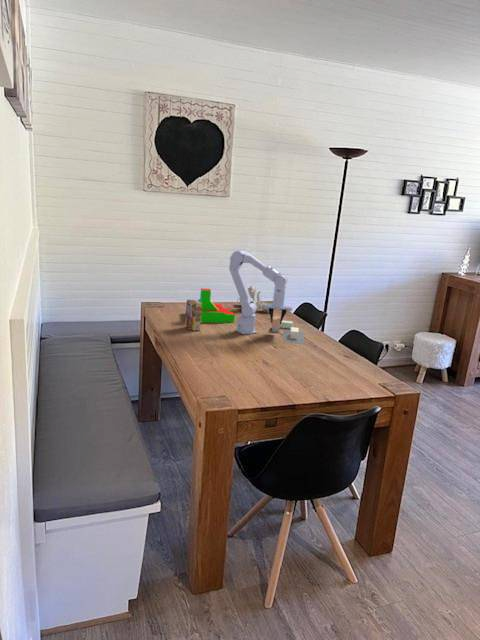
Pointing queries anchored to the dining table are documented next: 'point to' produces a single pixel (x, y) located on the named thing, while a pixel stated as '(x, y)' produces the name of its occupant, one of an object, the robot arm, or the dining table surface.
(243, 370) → the dining table surface
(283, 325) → the sage brick
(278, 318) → the terracotta brick
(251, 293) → the chinaware
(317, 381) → the dining table surface
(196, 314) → the candy box
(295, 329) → the cream brick
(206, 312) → the building blocks toy
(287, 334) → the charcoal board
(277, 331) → the slate brick
